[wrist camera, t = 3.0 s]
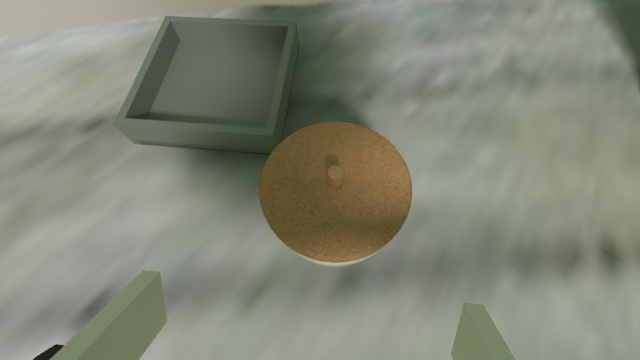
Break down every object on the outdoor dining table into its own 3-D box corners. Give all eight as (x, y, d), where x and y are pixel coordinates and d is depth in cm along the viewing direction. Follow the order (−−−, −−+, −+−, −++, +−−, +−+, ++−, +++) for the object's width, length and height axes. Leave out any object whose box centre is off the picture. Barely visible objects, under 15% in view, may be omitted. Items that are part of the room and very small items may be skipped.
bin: (299, 47, 38) (296, 22, 35) (278, 154, 31) (273, 135, 28) (179, 41, 39) (165, 16, 36) (134, 143, 32) (113, 124, 29)
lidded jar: (252, 216, 28) (220, 170, 20) (334, 147, 31) (335, 82, 23) (332, 305, 25) (334, 295, 16) (416, 219, 28) (453, 173, 19)
